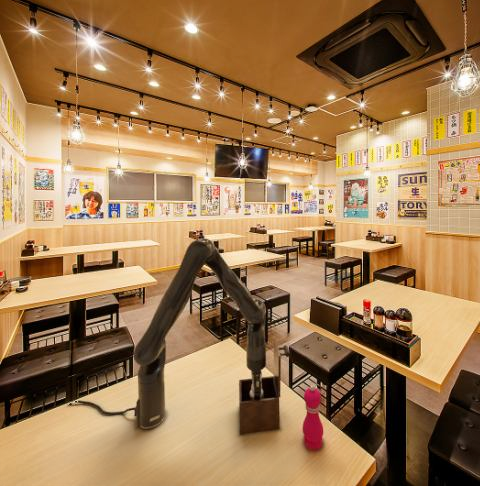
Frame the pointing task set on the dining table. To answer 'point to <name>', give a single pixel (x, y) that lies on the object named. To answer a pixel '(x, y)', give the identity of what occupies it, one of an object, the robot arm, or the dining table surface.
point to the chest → (259, 407)
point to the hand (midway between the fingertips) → (256, 396)
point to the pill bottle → (253, 393)
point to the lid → (278, 364)
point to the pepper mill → (312, 419)
